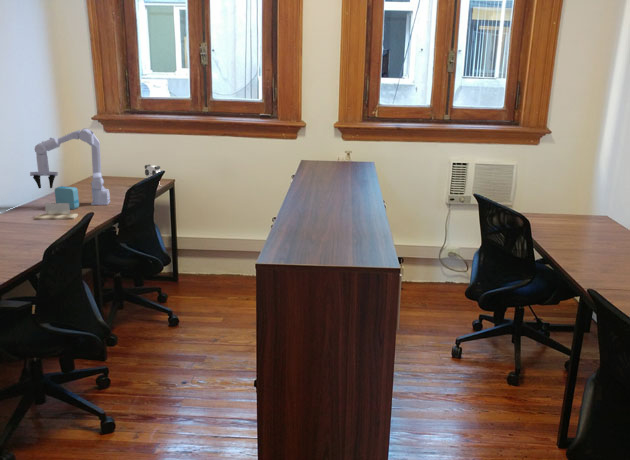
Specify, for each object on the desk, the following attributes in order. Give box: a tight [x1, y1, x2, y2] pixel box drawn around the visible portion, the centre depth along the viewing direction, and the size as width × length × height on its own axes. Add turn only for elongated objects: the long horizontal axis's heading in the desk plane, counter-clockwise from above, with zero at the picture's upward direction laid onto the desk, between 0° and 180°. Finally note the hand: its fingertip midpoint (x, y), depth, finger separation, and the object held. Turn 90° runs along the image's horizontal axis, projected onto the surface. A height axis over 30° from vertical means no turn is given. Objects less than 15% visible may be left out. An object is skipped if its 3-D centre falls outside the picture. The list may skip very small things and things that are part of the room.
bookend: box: [33, 202, 79, 221], centre depth 298 cm, size 20×8×7 cm, turn 97°
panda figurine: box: [144, 164, 161, 186], centre depth 375 cm, size 12×11×15 cm
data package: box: [54, 185, 80, 210], centre depth 318 cm, size 12×4×12 cm, turn 77°
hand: (45, 188), depth 320 cm, fingers open, 6 cm apart
